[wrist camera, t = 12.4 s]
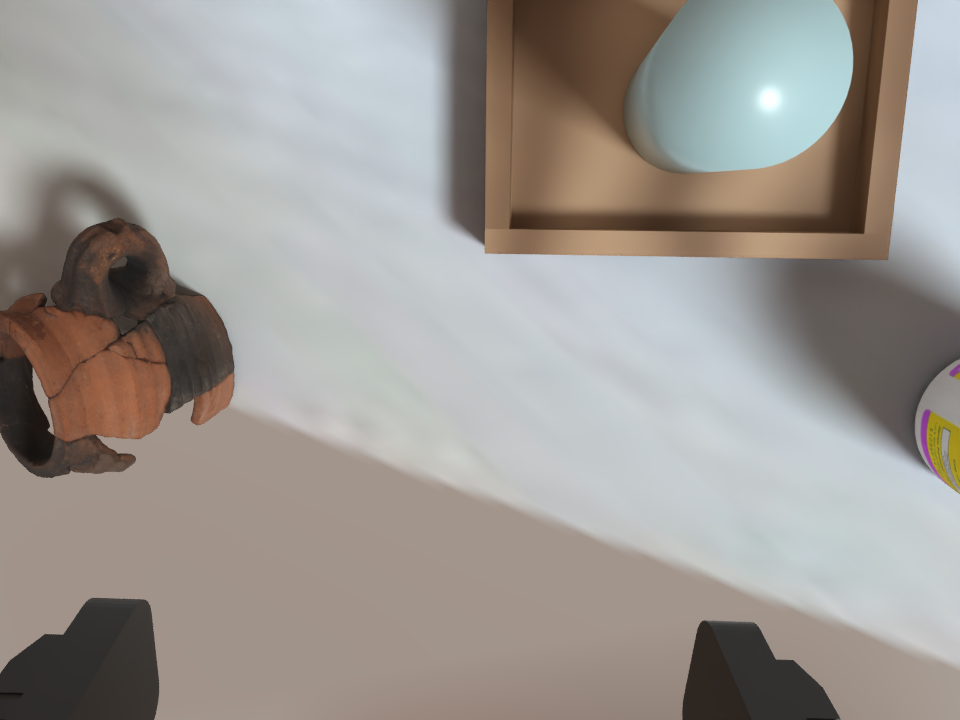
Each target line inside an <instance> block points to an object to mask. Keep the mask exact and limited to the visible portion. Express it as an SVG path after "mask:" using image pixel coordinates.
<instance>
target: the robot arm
mask: <svg viewBox="0 0 960 720" xmlns="http://www.w3.org/2000/svg"><path fill="white" fill-rule="evenodd" d="M158 698H159V677H158V668H157V660H156V650H155V641H154V632H153V623H152V613H151V608H150V605H149V603H148V602H147V601H146V600H141V599H110V598H91V599H89V600H88V601H87V602H86V603H85V604H84V605H83V607H82V608H81V610H80V611H79V613H78V614H77V615H76V617H75V619H74V620H73V622H72V623H71V624H70V626H69V627H68V629H67V630H66V632H65V633H64V635H54V634H53V635H52V634H51V635H50V634H45V635H43V636H42V637H41V638H40V639H38V640H37V641H35V642H34V643H33V644H31V645H30V646H29V647H27V648H26V649H25V650H23V651H22V652H21V653H19V654H18V655H17V656H15V657H14V658H13V659H11V660H10V661H9V662H8V664H7V665H6V667H5V668H4V669H3V671H2V672H1V673H0V720H154V718H155V715H156V710H157V705H158ZM682 715H683V720H840V717H839V715H838V714H837V712H836V710H835V709H834V707H833V705H832V703H831V701H830V700H829V698H828V696H827V694H826V693H825V691H824V689H823V687H821V686H820V685H819V684H818V683H817V682H816V681H815V680H814V679H813V678H812V677H811V676H810V675H809V674H807V673H806V672H805V671H804V670H803V669H802V668H801V667H800V666H799V665H798V664H797V663H796V662H794V660H776V659H775V657H774V655H773V653H772V651H771V650H770V648H769V646H768V644H767V642H766V640H765V638H764V636H763V634H762V632H761V630H760V629H759V627H758V626H757V625H756V624H755V623H752V622H732V621H731V622H730V621H702V622H701V623H700V625H699V627H698V630H697V634H696V639H695V644H694V649H693V654H692V659H691V664H690V669H689V674H688V679H687V684H686V689H685V694H684V699H683V711H682Z"/></svg>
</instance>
